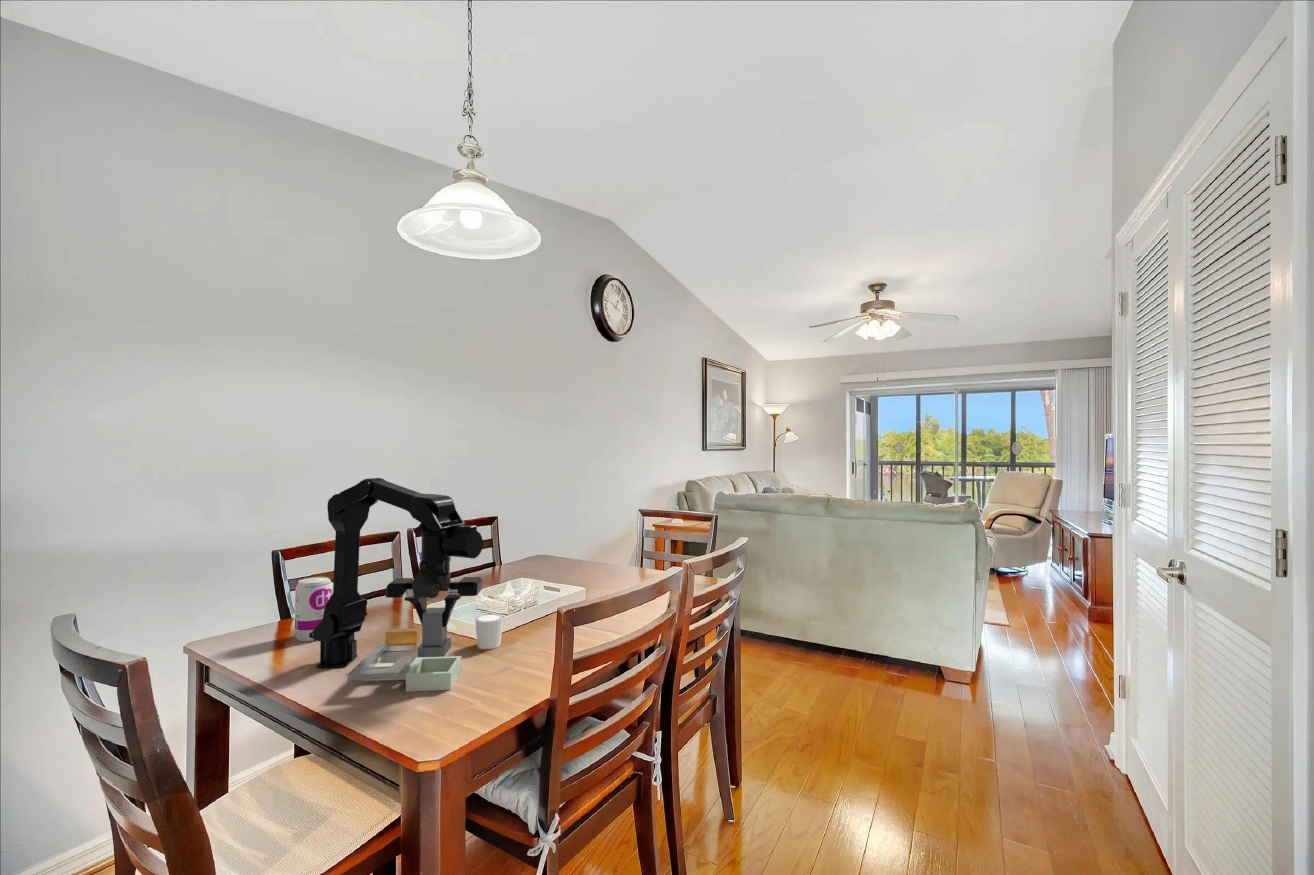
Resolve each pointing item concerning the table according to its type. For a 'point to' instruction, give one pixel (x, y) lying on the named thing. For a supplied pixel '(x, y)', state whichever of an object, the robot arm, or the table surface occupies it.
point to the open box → (433, 673)
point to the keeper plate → (393, 642)
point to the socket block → (389, 659)
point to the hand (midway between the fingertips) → (434, 626)
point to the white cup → (489, 630)
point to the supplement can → (310, 605)
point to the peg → (434, 634)
